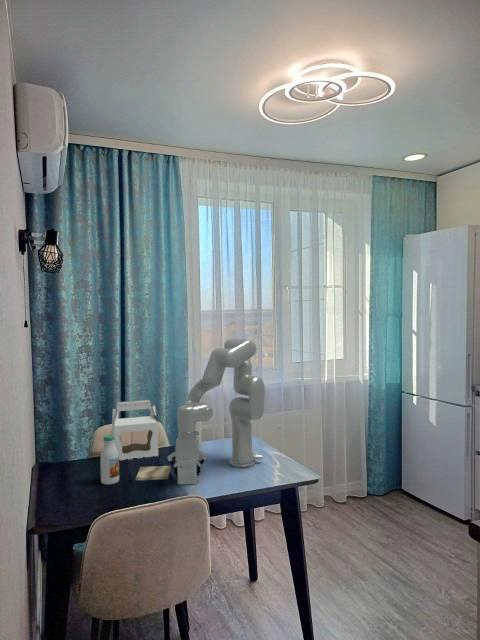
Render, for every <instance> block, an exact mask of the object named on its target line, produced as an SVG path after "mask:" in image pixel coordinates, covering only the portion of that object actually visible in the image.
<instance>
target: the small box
mask: <svg viewBox="0 0 480 640" xmlns="http://www.w3.org/2000/svg"><path fill="white" fill-rule="evenodd" d="M177 470H178V476H177V485H197V482H198V480H199V476H197V463H196V460H181V461H177Z"/></svg>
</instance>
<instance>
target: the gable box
mask: <svg viewBox="0 0 480 640" xmlns="http://www.w3.org/2000/svg"><path fill="white" fill-rule="evenodd" d="M137 410H149V415H143V416H132V417H121V418H119V413H120V412H125V411H126V412H127V411H137ZM111 418H112V419H111V423H112V425H111V427H112V431H111V432H112V435H114V437H115V439H114V440H115V441H114V444H115V447H116V449H117V451H118V455H119V460H120V461H127V460H126V459H128V460H134V459H133V458H137V459H144V458H143V457H145V458H152V457H153V456H154V457H159V428H158V427H159V424H158V419H157V408H156V405H154V404H153V405H152V403H151V400H150V399H141V400H128V401H118V403H117V407H116V408H112V417H111ZM143 431H148V432H147V437H146V438H147V442H146V443H144V444H143V443H134V442H133V443H130V444H128V445H123V444H122V441H121V440H122V438H121V434H122V433H124V432H143Z"/></svg>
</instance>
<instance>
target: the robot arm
mask: <svg viewBox="0 0 480 640" xmlns="http://www.w3.org/2000/svg"><path fill="white" fill-rule="evenodd" d="M223 347H224V348H222V347H220V348H214V349H213V350H212V351H211V354H210V356H209V358H208V361H207V365H206V367H205V370H204V372H203V375H202V377H201V379H200V380H199V381H198V382H196V384H195V385H194V386H193V387H192V388H191V389H190V391H189V393H188V395H187V396H186V397H187V398H186V399H185V403H184V404H183V405H181V406H179V407H178V408H177V437H176V439H175V451H174V452H172V453H171V454H169V455H167V460H168V462H169V463H170V464H171V465H172V466H173V468H174V475H175V477H176V478H178V470H177V461H181V460H196V463H197V476H198V477H199V476H200V474H201V466H202V465H203V464H205V462H206V459H207V458H208V454H206V453H204V451H203V452H202V451H201V450H200V445H199V439H198V436H199V435H200V431H197V430H196V422H207V421H209V420H210V419H211V418H212V417H213V415H214V409H213V407H212V406H211V405H210V404H207V403H203V402H201V399H202V398H203V397H204V395H205V394H206V393H208V392H209V391H211V390H213V389H215V388H217V387H219V386H220V384H221V382H222V379H223V377H224V374H225V371H226V368H230V369H232V368H233V372H234V373H233V391H234V392H235V393H236V394H238V395H242V396H247V397H242V396H238V397H234V398H233V399H231V401H230V402H229V405H228V406H229V408H228V410H229V414H230V421H231V444H232V445H231V449H232V451H231V452H232V454H231V455H232V458H230V459H229V461H228V462H229V465H230V466H232V467H236V468H248V467H253V466H254V465H255V464H256V463H257V462H256V461H257V460H263V455H261V454H260V455H259V454H258V453H256V454H254V453H253V439H252V438H253V432H252V431H253V430H252V428H253V427H252V422H251V420H252V421H258V420H261V418H262V416H263V415H264V414H263V413H264V410H265V409H264V408H265V393H266V392H265V391H266V389H265V388H266V387H265V386H266V385H265V382H264V381H263V379H262V378H261V377H260V376H256V375H253V364H252V361H251V358H253V357H254V355H255V354H256V352H257V345H256V342H255V341H254V340H252V339H246V338H245V339H244V338H229V339H227V340H225V342H224V346H223ZM200 456H201V457H202V458H201V459H200ZM174 457H175V458H174ZM172 458H174V460H175V461H174V460H173V459H172Z"/></svg>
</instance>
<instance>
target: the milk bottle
mask: <svg viewBox="0 0 480 640" xmlns="http://www.w3.org/2000/svg"><path fill="white" fill-rule="evenodd" d="M114 439H115V437H114V435H113V434H107V435H104V436H103V447H102V449H101V453H100V483H101V484H103V485H114V484H117V483H118V482H119V481H120V461H119V455H118V451H117V449H116V447H115V444H114V441H115V440H114Z"/></svg>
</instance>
